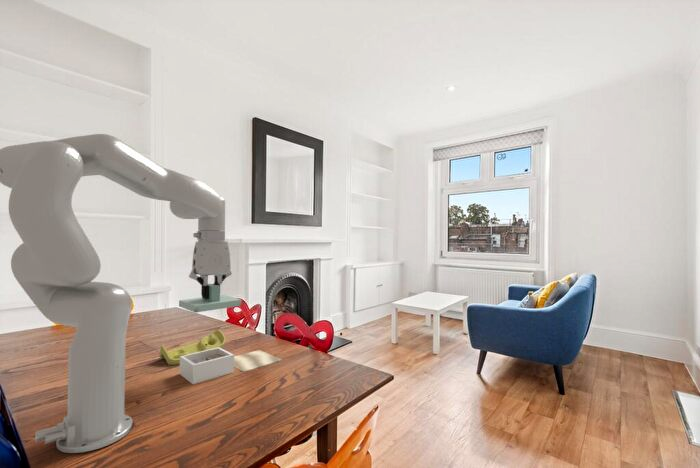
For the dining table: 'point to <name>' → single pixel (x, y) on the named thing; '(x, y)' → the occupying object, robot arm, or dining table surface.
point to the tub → (206, 365)
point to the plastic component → (193, 347)
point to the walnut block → (213, 357)
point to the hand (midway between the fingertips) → (210, 297)
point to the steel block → (198, 360)
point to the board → (254, 360)
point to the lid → (210, 301)
